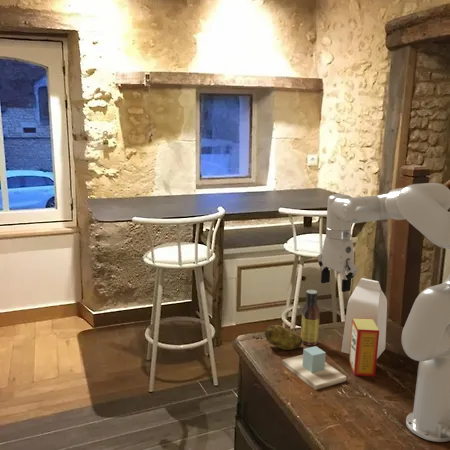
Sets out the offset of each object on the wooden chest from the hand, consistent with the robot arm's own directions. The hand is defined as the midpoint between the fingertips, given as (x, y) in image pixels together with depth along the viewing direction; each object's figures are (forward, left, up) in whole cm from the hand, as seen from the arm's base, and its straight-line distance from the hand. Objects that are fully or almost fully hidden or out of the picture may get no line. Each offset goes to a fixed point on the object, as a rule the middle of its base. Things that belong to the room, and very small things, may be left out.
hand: (335, 286), depth 164 cm
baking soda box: (-6, -9, -28) cm, 30 cm away
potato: (+18, +6, -28) cm, 34 cm away
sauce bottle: (+17, -5, -28) cm, 33 cm away
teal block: (-1, +7, -26) cm, 27 cm away
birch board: (-1, +7, -28) cm, 29 cm away
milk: (+4, -19, -28) cm, 34 cm away
